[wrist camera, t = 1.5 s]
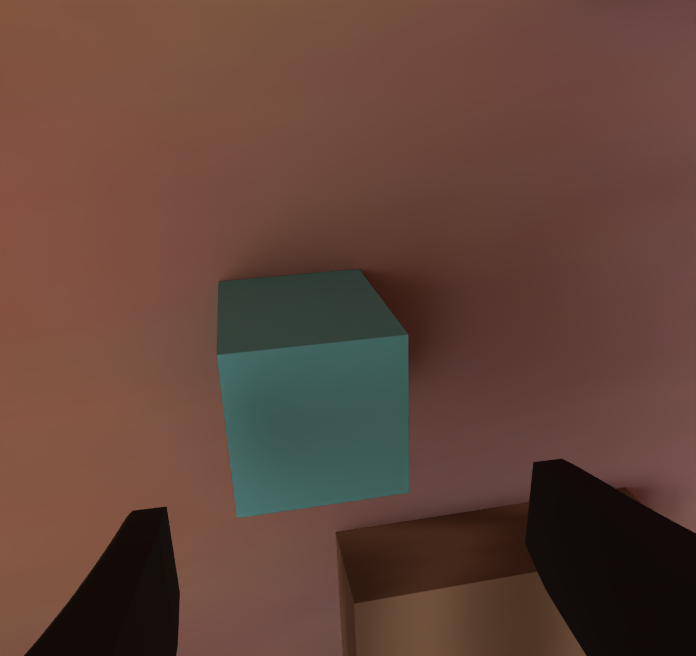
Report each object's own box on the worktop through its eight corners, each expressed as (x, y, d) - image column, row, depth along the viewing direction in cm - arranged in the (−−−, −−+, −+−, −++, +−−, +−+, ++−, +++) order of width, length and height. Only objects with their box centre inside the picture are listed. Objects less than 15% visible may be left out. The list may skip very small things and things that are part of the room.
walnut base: (347, 742, 29) (365, 838, 25) (333, 525, 24) (354, 604, 21) (590, 691, 31) (641, 773, 27) (618, 481, 26) (683, 546, 23)
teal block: (233, 408, 22) (237, 517, 16) (218, 281, 20) (216, 354, 14) (363, 392, 22) (409, 493, 17) (358, 268, 21) (408, 334, 15)
